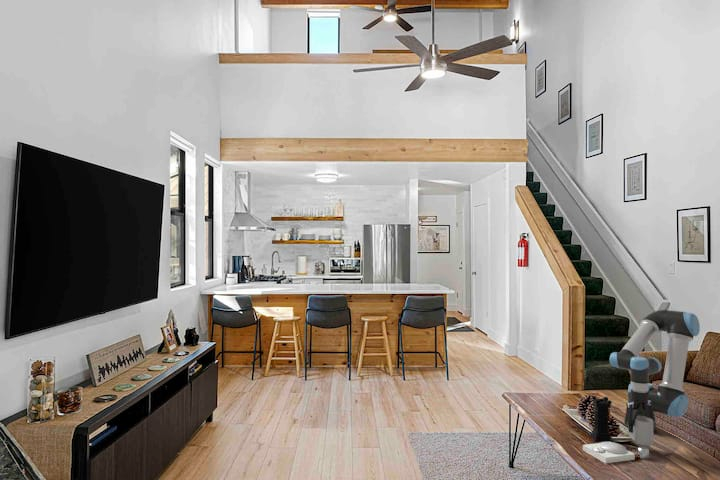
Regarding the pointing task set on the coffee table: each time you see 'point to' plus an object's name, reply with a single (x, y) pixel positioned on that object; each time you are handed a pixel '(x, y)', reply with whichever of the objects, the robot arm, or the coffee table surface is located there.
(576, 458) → the coffee table surface
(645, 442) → the mug
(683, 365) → the robot arm
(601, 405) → the chess piece
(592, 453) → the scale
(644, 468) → the coffee table surface
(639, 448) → the spacer
